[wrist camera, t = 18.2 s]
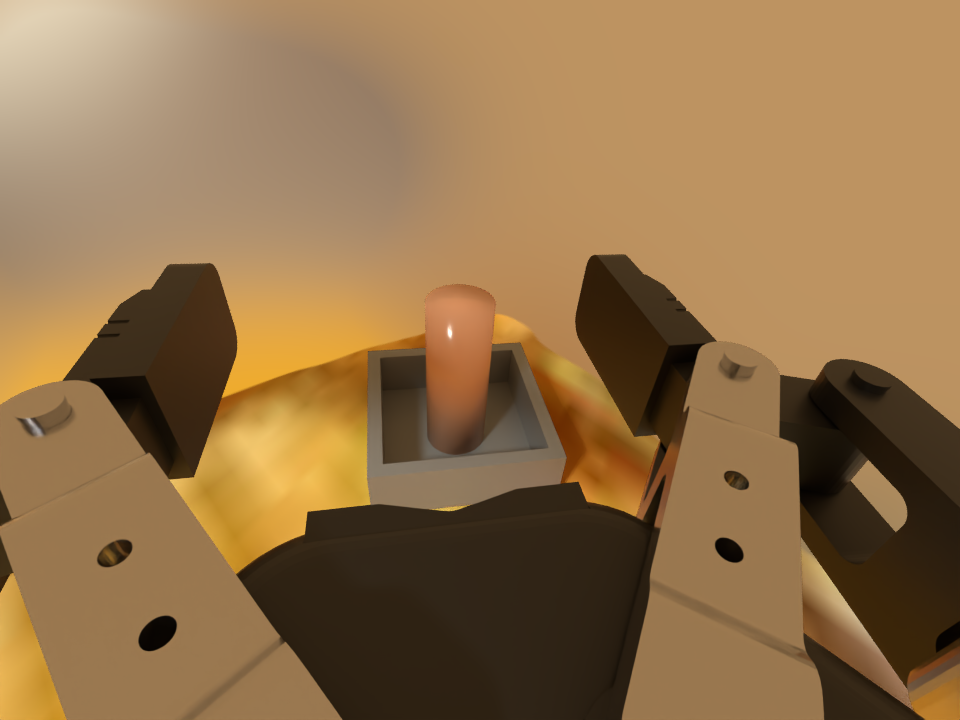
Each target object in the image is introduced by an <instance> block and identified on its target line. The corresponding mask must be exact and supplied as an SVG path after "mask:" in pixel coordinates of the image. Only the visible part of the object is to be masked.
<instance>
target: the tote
mask: <svg viewBox="0 0 960 720" xmlns="http://www.w3.org/2000/svg"><path fill="white" fill-rule="evenodd" d="M566 459H567V457H566V454H565V452H564V449H563V447H562V444H561V442H560V439H559V437H558V434H557V432H556V430H555V427H554V425H553V422H552V420H551V417H550V415H549V412H548V410H547V407H546V405H545V402H544V400H543V397H542V395H541V393H540V390H539V388H538V385H537V383H536V380H535V378H534V375H533V373H532V370H531V368H530V365H529V363H528V360H527V358H526V356H525V353H524V351H523V348H522V346H521V343H506V344H492V350H491V361H490V372H489V384H488V395H487V406H486V417H485V428H484V438H483V441H482V442H481V444H480V445H479V446H478V447H477V448H476V449H475V450H473V451H471V452H469V453H466V454H460V455H451V454H446V453H443V452H440V451H439V450H437V449H435V448H434V447H433V446H432V445H431V444H430V442H429V440H428V437H427V397H426V348H417V349H399V350H381V351H368V434H367V480H368V487H369V495H370V503H371V505H374V504H384V505H393V506H402V507H411V508H420V509H436V508H445V507H453V506H462V505H471V504H476V503H478V502H481V501H484V500H487V499H490V498H492V497H495V496H498V495H501V494H503V493H506V492H509V491H512V490H514V489H518V488H527V487H536V486H545V485H554V484H560V482H561V478H562V475H563V471H564V467H565V463H566Z"/></svg>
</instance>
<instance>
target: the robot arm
mask: <svg viewBox="0 0 960 720" xmlns="http://www.w3.org/2000/svg"><path fill="white" fill-rule="evenodd" d="M575 323H576V332H577V336H578V338H579V340H580V342H581V344H582V346H583V347H584V349H585V351H586V353H587V354H588V356H589V358H590V360H591V361H592V363H593V365H594V367H595V368H596V370H597V372H598V374H599V375H600V377H601V379H602V381H603V382H604V384H605V386H606V388H607V389H608V391H609V393H610V395H611V396H612V398H613V400H614V402H615V404H616V405H617V407H618V409H619V411H620V412H621V414H622V416H623V418H624V419H625V421H626V423H627V425H628V426H629V428H630V430H631V432H632V433H633V435H634V437H637V436H648V435H658V437H659V439H660V442H659V444H658V447H657V449H656V451H655V455H654V458H653V461H652V465H651V468H650V472H649V475H648V478H647V482H646V485H645V489H644V492H643V496H642V499H641V502H640V506H639V509H638V513H637V516H636V517H635V516H632V515H630V514H628V513H626V512H624V511H621V510H618V509H615V508H612V507H609V506H605V505H600V504H596V503H591V502H586V499H585V497H584V494H583V492H582V489H581V487H580V485H579V482H573V483H563V484H554V485H545V486H536V487H527V488H518V489H514V490H512V491H509V492H506V493H503V494H501V495H498V496H495V497H492V498H490V499H487V500H484V501H481V502H478V503H476V504H473V505H470V506H467V507H465V508H462V509H459V510H455V511H438V510H429V509H420V508H411V507H402V506H393V505H384V504H374V505H365V506H356V507H347V508H338V509H329V510H320V511H311V512H308V513H307V521H306V530H305V535H302V536H300V537H297V538H294V539H292V540H290V541H287V542H285V543H283V544H281V545H279V546H277V547H275V548H273V549H272V550H270V551H268V552H266V553H265V554H263V555H261V556H260V557H258V558H257V559H255V560H254V561H253V562H251V563H250V564H248V565H247V566H246V567H244V568H243V569H242V570H241V571H239V572H238V573H237V574H235V573H234V571H233V570H232V568H231V567H230V565H229V564H228V563H227V561H226V560H225V558H224V557H223V556H222V554H221V553H220V551H219V550H218V548H217V547H216V546H215V544H214V543H213V541H212V540H211V538H210V537H209V536H208V534H207V533H206V531H205V530H204V529H203V527H202V526H201V524H200V523H199V521H198V520H197V519H196V517H195V516H194V514H193V513H192V511H191V510H190V509H189V507H188V506H187V504H186V503H185V502H184V500H183V499H182V497H181V496H180V494H179V493H178V492H177V490H176V489H175V487H174V486H173V485H172V483H171V482H170V480H169V479H180V478H190V477H194V475H195V472H196V469H197V467H198V464H199V461H200V458H201V455H202V452H203V449H204V447H205V444H206V441H207V438H208V435H209V432H210V429H211V427H212V424H213V421H214V418H215V415H216V412H217V409H218V406H219V404H220V401H221V398H222V395H223V392H224V389H225V386H226V383H227V381H228V378H229V375H230V372H231V369H232V366H233V363H234V361H235V358H236V353H237V336H236V330H235V326H234V323H233V320H232V316H231V313H230V310H229V307H228V304H227V300H226V297H225V294H224V290H223V287H222V284H221V281H220V277H219V274H218V272H217V270H216V268H215V266H214V265H213V264H210V263H207V264H170V265H168V266H167V267H166V268H165V270H164V271H163V273H162V274H161V276H160V277H159V279H158V280H157V281H156V283H155V284H154V286H153V287H152V289H151V290H141V291H140V292H138V293H137V294H135V295H134V296H132V297H131V298H129V299H127V300H126V301H124V302H123V303H121V304H120V305H119V306H118V308H117V309H116V310H115V312H114V313H113V314H112V316H111V317H110V318H109V320H108V324H105V325H104V326H103V328H102V329H101V330H100V332H99V333H98V334H97V335H98V338H94V340H93V341H92V342H91V343H90V345H89V346H88V347H87V349H86V350H85V351H84V353H83V354H82V355H81V357H80V358H79V359H78V361H77V362H76V363H75V365H74V366H73V367H72V369H71V370H70V371H69V373H68V374H67V375H66V377H65V378H64V380H63V381H59V382H53V383H49V384H45V385H42V386H38V387H35V388H32V389H30V390H27V391H25V392H22V393H20V394H18V395H16V396H14V397H12V398H10V399H9V400H8V401H6V402H4V403H2V404H1V405H0V592H1V590H2V588H3V587H4V585H5V583H6V581H7V579H8V577H9V575H10V574H11V573H14V575H15V578H16V581H17V584H18V586H19V589H20V592H21V595H22V597H23V600H24V603H25V606H26V608H27V611H28V614H29V617H30V620H31V622H32V625H33V628H34V631H35V633H36V636H37V639H38V642H39V644H40V647H41V650H42V653H43V655H44V658H45V661H46V664H47V666H48V669H49V672H50V675H51V677H52V680H53V683H54V686H55V688H56V691H57V694H58V697H59V700H60V702H61V705H62V708H63V711H64V713H65V716H66V719H67V720H960V429H959V428H957V427H956V426H955V425H954V424H953V423H951V422H950V421H949V420H948V419H947V418H945V417H944V416H943V415H942V414H940V413H939V412H938V411H937V410H936V409H934V408H933V407H932V406H931V405H930V404H928V403H927V402H926V401H925V400H924V399H922V398H921V397H920V396H919V395H917V394H916V393H915V392H914V391H913V390H911V389H910V388H909V387H908V386H907V385H905V384H904V383H903V382H902V381H900V380H899V379H898V378H896V377H895V376H893V375H891V374H890V373H888V372H886V371H884V370H882V369H880V368H877V367H875V366H872V365H870V364H866V363H863V362H859V361H855V360H848V359H838V360H832V361H830V362H828V363H827V364H826V365H825V366H824V367H823V369H822V371H821V372H820V374H819V375H818V377H817V378H816V380H810V379H803V378H797V377H790V376H784V375H780V373H779V371H778V369H777V367H776V366H775V365H774V364H773V362H772V361H771V360H769V359H768V358H767V357H765V356H764V355H762V354H761V353H759V352H757V351H755V350H753V349H751V348H748V347H746V346H743V345H740V344H736V343H730V342H721V341H719V342H717V341H716V340H715V339H714V338H713V337H712V335H711V334H710V333H709V332H708V331H707V330H706V329H705V328H704V327H703V326H702V325H701V324H700V323H699V322H698V321H697V319H696V318H695V317H694V316H693V315H692V314H691V313H690V312H688V311H686V308H685V307H684V306H683V305H682V304H681V303H680V301H676V297H675V296H674V295H673V294H672V293H671V292H670V291H669V290H668V289H667V288H666V287H665V286H664V285H663V284H661V283H659V282H658V281H656V280H654V279H652V278H651V277H649V276H647V275H644V274H643V273H642V272H641V271H640V270H639V269H638V267H637V266H636V265H635V264H634V263H633V262H632V261H631V260H630V259H629V258H628V257H627V256H626V255H622V254H621V255H620V254H619V255H593V256H591V257H590V259H589V260H588V263H587V266H586V271H585V275H584V279H583V284H582V288H581V293H580V297H579V302H578V306H577V311H576V319H575ZM867 460H869V461H870V462H871V463H872V464H873V465H874V466H875V467H876V468H877V469H878V470H879V471H880V473H881V474H882V475H883V476H884V477H885V478H886V479H887V480H888V481H889V482H890V483H891V484H892V485H893V486H894V487H895V488H896V489H897V490H898V492H899V493H900V494H901V495H902V497H903V499H904V501H905V503H906V506H907V520H906V522H905V524H904V525H903V526H902V527H901V528H900V529H899V530H898V531H897V532H895V531H894V530H893V529H892V528H891V527H890V525H889V524H888V523H887V522H886V521H885V520H884V519H883V517H882V516H881V515H880V514H879V513H878V512H877V510H876V509H875V508H874V507H873V506H872V505H871V504H870V502H869V501H868V500H867V499H866V498H865V497H864V496H863V495H862V493H861V492H860V491H859V490H858V489H857V488H856V487H855V485H854V484H853V483H852V482H851V481H850V480H851V479H852V478H853V477H854V476H855V475H856V473H857V472H858V471H859V470H860V469H861V468H862V466H863V465H864V464H865V463H866V461H867ZM801 538H802V539H803V540H804V542H805V543H806V545H807V546H808V548H809V549H810V550H811V552H812V553H813V555H814V556H815V558H816V559H817V560H818V562H819V563H820V565H821V566H822V568H823V569H824V570H825V572H826V573H827V575H828V576H829V578H830V579H831V580H832V582H833V583H834V585H835V586H836V588H837V589H838V591H839V592H840V593H841V595H842V596H843V598H844V599H845V601H846V602H847V603H848V605H849V606H850V608H851V609H852V611H853V612H854V613H855V615H856V616H857V618H858V619H859V621H860V622H861V623H862V625H863V626H864V628H865V629H866V631H867V632H868V633H869V635H870V636H871V638H872V639H873V641H874V642H875V643H876V645H877V646H878V648H879V649H880V651H881V652H882V653H883V655H884V656H885V658H886V659H887V661H888V662H889V664H890V665H891V666H892V668H893V669H894V671H895V672H896V674H897V675H898V676H899V678H900V679H901V681H902V682H903V684H904V685H905V686H906V688H907V689H908V695H909V698H910V702H911V705H912V707H913V709H914V711H913V710H911V709H910V708H909V707H907V706H906V705H904V704H903V703H901V702H900V701H899V700H897V699H896V698H894V697H893V696H892V695H890V694H889V693H887V692H886V691H885V690H883V689H882V688H880V687H879V686H878V685H876V684H875V683H873V682H872V681H871V680H869V679H868V678H866V677H865V676H863V675H862V674H861V673H859V672H858V671H856V670H855V669H854V668H852V667H851V666H849V665H848V664H847V663H845V662H844V661H842V660H841V659H840V658H838V657H837V656H835V655H834V654H832V653H831V652H830V651H828V650H827V649H825V648H824V647H823V646H821V645H820V644H818V643H817V642H816V641H814V640H813V639H811V638H810V637H809V636H807V635H806V634H804V633H803V606H802V569H801Z"/></svg>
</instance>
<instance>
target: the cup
mask: <svg viewBox="0 0 960 720" xmlns="http://www.w3.org/2000/svg"><path fill="white" fill-rule="evenodd" d="M495 305H496V304H495V299H494V298H493V297H492V295H490V293H488V292H487V291H485V290H483V289H481V288H478V287H475V286H470V285H463V284H455V285H446V286H442V287H439V288H436V289H434V290H433V291H431V292H430V293H429V294H428V295H427V296H426V299H425V328H426V329H425V330H426V397H427V437H428V440H429V442H430V444H431V445H432V446H433V447H434V448H435V449H437V450H439V451H440V452H443V453H446V454H451V455H460V454H466V453H469V452H471V451H473V450H475V449H476V448H477V447H478V446H479V445H480V444H481V442H482V441H483V438H484V428H485V417H486V406H487V395H488V384H489V372H490V361H491V350H492V339H493V328H494V316H495Z"/></svg>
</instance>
